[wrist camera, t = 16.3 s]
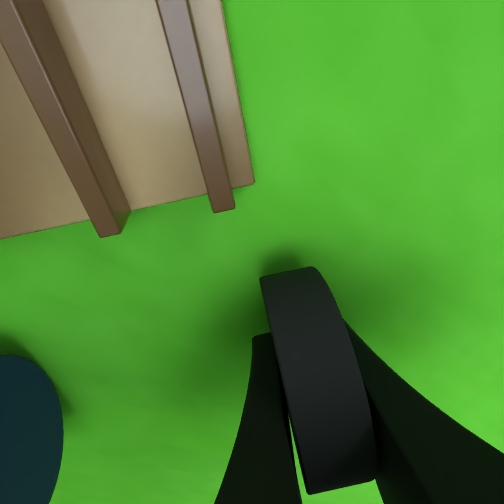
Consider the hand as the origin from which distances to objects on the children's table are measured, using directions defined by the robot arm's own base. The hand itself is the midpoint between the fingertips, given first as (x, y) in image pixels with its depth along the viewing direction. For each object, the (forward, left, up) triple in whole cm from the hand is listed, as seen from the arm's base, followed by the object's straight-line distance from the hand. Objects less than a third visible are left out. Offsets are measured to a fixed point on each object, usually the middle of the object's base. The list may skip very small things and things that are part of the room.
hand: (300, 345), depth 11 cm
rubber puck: (0, 0, -2) cm, 2 cm away
